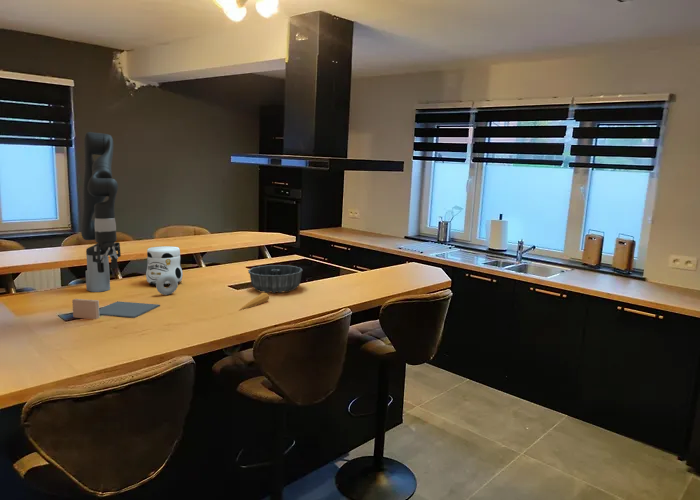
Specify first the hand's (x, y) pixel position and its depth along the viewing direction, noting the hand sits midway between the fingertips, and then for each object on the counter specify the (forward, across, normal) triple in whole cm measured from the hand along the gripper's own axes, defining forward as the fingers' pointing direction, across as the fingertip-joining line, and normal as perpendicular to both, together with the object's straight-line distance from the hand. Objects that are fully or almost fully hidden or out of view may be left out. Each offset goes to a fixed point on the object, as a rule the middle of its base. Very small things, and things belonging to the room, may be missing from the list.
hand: (107, 270), depth 199 cm
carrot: (+18, -24, +51) cm, 59 cm away
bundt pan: (+18, -55, +52) cm, 78 cm away
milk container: (+17, -53, -5) cm, 56 cm away
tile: (+18, +7, -5) cm, 20 cm away
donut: (+17, -32, +7) cm, 37 cm away
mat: (+17, -5, +3) cm, 18 cm away
